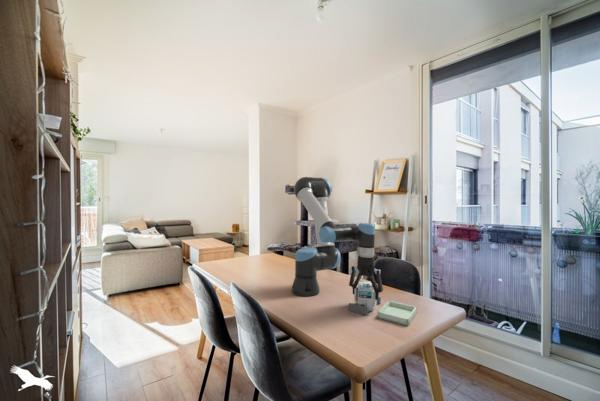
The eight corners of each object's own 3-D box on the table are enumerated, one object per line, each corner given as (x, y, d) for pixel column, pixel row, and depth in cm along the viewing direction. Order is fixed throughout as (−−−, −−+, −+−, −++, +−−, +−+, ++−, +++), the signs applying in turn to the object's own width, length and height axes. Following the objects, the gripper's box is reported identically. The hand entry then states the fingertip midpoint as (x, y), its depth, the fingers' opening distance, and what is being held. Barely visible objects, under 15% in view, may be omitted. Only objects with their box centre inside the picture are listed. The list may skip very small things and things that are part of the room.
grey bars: (348, 310, 122) (348, 303, 122) (363, 299, 136) (363, 293, 136) (367, 315, 117) (367, 308, 117) (380, 303, 131) (380, 297, 131)
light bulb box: (373, 312, 121) (373, 288, 121) (357, 310, 122) (358, 286, 122) (371, 303, 131) (372, 281, 131) (357, 301, 132) (358, 280, 133)
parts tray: (377, 317, 115) (377, 311, 115) (389, 305, 128) (389, 300, 128) (408, 326, 107) (408, 319, 108) (417, 312, 121) (417, 306, 121)
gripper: (342, 254, 130) (341, 300, 130) (386, 260, 117) (385, 312, 117) (348, 252, 136) (347, 296, 136) (391, 257, 124) (390, 306, 123)
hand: (365, 303), depth 127 cm, fingers closed on light bulb box, 9 cm apart
